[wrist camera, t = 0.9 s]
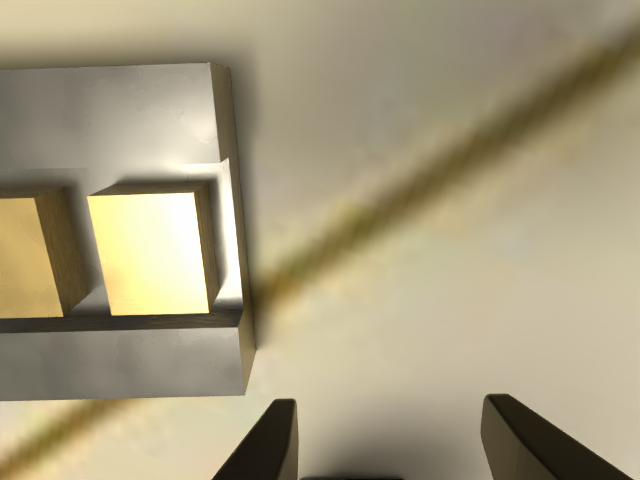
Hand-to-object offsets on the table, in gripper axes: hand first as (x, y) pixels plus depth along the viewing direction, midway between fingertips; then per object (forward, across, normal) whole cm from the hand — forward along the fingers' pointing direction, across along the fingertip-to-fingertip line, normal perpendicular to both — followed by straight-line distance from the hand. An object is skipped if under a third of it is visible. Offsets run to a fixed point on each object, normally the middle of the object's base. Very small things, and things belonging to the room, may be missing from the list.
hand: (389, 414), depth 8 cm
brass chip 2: (+11, +8, 0) cm, 14 cm away
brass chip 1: (+11, +14, 0) cm, 18 cm away
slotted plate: (+13, +12, 0) cm, 18 cm away
